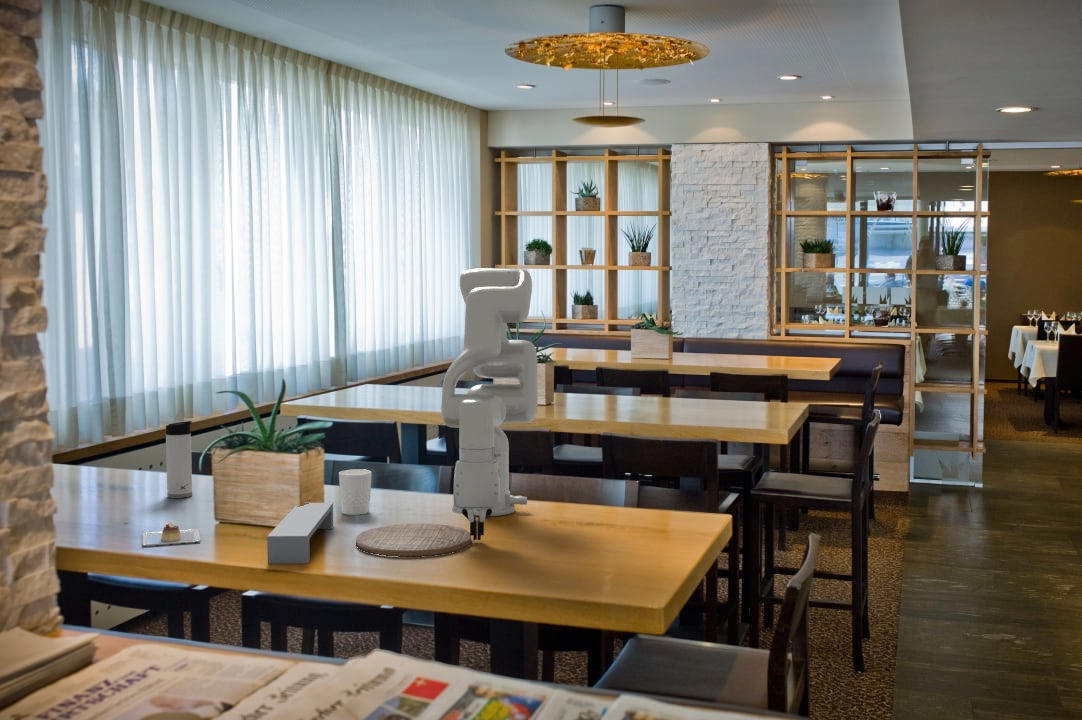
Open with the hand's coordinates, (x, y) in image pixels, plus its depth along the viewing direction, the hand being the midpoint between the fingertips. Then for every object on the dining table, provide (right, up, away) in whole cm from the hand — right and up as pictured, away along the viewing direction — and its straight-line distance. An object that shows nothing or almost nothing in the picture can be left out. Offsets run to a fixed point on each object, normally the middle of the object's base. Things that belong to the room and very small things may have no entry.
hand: (477, 538), depth 240 cm
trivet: (-14, -2, 0) cm, 14 cm away
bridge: (-38, -1, -1) cm, 38 cm away
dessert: (-68, -1, +3) cm, 68 cm away
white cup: (-32, +1, +31) cm, 45 cm away
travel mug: (-81, +3, +51) cm, 96 cm away
